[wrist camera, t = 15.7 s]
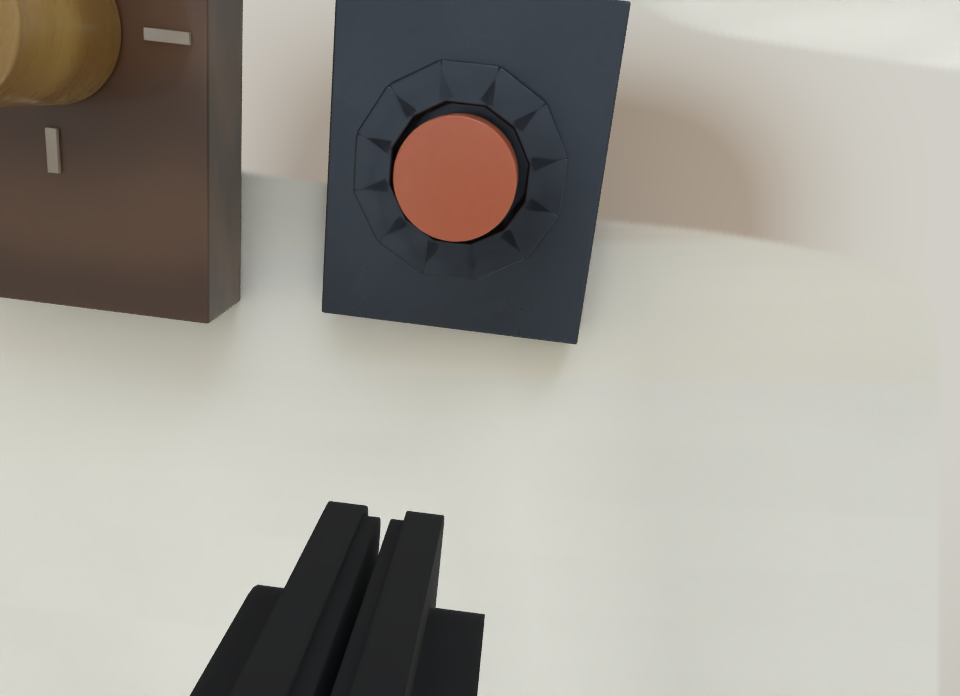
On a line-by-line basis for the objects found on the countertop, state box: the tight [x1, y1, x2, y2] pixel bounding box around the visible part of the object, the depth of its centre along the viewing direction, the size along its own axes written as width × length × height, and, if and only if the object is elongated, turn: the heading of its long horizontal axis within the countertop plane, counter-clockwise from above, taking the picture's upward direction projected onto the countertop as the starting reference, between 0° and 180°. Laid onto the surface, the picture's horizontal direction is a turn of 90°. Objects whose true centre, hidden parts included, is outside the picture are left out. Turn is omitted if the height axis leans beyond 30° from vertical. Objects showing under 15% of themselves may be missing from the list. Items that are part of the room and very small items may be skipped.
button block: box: [322, 0, 630, 344], centre depth 26 cm, size 11×9×4 cm
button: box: [393, 113, 519, 242], centre depth 24 cm, size 4×4×2 cm
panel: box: [0, 0, 243, 323], centre depth 26 cm, size 14×10×3 cm
